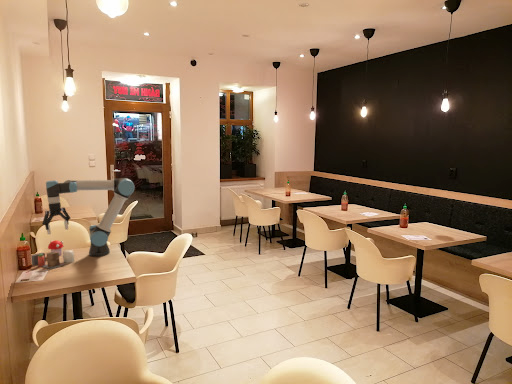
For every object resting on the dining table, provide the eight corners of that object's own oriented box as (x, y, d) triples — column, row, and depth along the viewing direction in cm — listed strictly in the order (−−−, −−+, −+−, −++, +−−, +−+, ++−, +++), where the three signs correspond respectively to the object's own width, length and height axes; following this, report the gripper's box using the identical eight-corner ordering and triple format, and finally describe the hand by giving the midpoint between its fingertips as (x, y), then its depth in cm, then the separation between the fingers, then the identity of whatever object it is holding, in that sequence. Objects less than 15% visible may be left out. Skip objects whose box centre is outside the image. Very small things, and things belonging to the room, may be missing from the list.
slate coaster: (56, 262, 280) (56, 261, 280) (65, 264, 275) (65, 264, 275) (41, 266, 271) (41, 266, 271) (51, 269, 265) (50, 268, 265)
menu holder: (43, 261, 283) (42, 252, 282) (45, 262, 281) (44, 253, 280) (32, 264, 276) (31, 255, 275) (34, 265, 275) (33, 256, 274)
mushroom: (67, 254, 299) (66, 239, 298) (53, 258, 290) (52, 243, 289) (59, 252, 305) (58, 238, 303) (45, 256, 296) (44, 241, 294)
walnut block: (55, 263, 277) (54, 251, 275) (59, 264, 274) (58, 252, 273) (47, 265, 272) (46, 253, 271) (52, 266, 269) (51, 254, 268)
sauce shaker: (42, 264, 276) (41, 253, 275) (46, 265, 274) (45, 253, 273) (37, 266, 273) (36, 254, 272) (40, 267, 271) (39, 255, 270)
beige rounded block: (70, 259, 287) (69, 249, 285) (76, 261, 283) (75, 250, 282) (61, 262, 281) (60, 251, 280) (67, 263, 277) (66, 253, 276)
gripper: (66, 199, 284) (70, 227, 287) (33, 205, 262) (38, 235, 265) (73, 199, 280) (76, 227, 283) (40, 206, 259) (44, 236, 262)
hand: (58, 231), depth 274 cm, fingers open, 13 cm apart
